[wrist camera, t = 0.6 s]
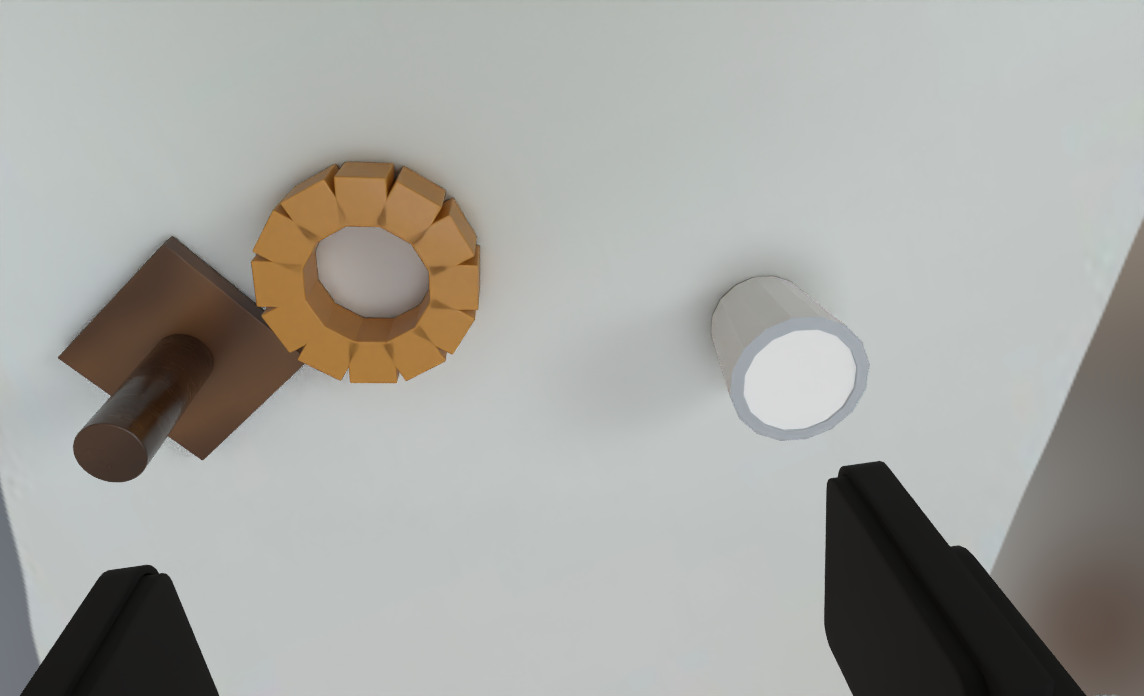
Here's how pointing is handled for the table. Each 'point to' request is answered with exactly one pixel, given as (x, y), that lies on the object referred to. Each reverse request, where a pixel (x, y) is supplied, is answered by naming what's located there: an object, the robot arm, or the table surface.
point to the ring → (336, 332)
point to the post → (173, 364)
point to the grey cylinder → (786, 359)
